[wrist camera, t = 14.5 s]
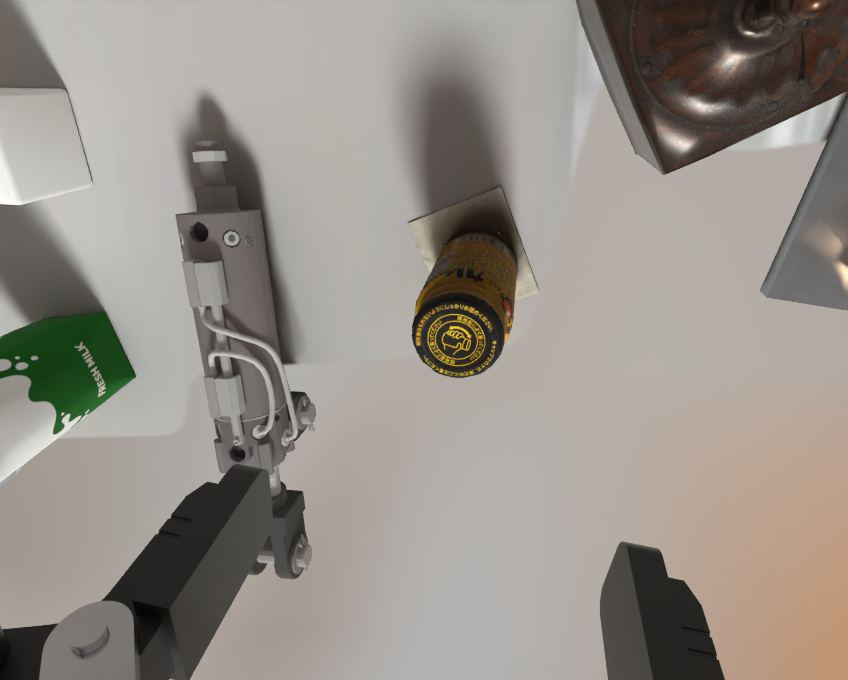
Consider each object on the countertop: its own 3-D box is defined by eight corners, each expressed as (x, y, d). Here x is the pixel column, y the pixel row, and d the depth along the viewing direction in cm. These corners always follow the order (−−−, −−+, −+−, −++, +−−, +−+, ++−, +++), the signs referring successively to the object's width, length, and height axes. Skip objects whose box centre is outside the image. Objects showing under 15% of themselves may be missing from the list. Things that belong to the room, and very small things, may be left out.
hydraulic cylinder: (271, 526, 54) (216, 601, 44) (212, 148, 43) (122, 141, 33) (338, 532, 52) (297, 611, 43) (295, 142, 41) (226, 133, 32)
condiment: (451, 320, 42) (424, 404, 31) (408, 222, 39) (362, 279, 28) (539, 292, 39) (542, 372, 29) (501, 185, 36) (489, 231, 26)
